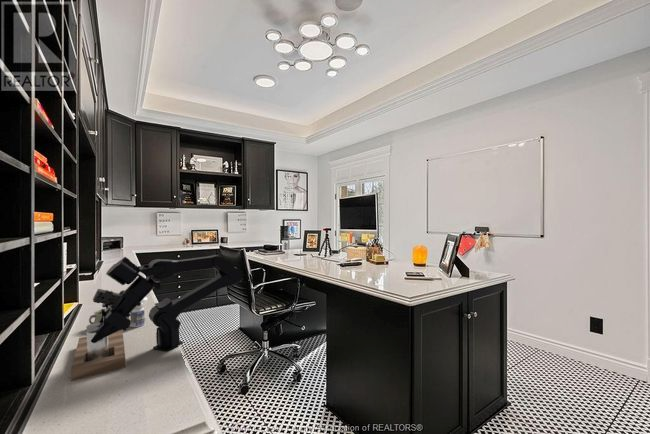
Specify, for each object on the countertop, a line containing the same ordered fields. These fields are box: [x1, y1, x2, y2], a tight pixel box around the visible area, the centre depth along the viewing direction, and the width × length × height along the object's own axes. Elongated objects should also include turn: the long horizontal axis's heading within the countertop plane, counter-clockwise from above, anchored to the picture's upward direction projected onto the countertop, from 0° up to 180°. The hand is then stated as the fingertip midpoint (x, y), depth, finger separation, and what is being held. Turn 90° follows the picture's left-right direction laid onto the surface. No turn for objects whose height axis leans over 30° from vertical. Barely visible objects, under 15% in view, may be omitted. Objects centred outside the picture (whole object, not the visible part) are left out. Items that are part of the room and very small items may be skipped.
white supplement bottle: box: [141, 296, 149, 320], centre depth 130 cm, size 4×5×10 cm
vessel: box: [88, 307, 106, 325], centre depth 122 cm, size 12×9×6 cm
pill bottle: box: [129, 303, 146, 328], centre depth 122 cm, size 5×5×8 cm
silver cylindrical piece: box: [86, 322, 109, 361], centre depth 90 cm, size 5×5×11 cm
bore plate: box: [70, 329, 126, 381], centre depth 96 cm, size 26×12×3 cm, turn 35°
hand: (91, 339), depth 89 cm, fingers closed on silver cylindrical piece, 5 cm apart
